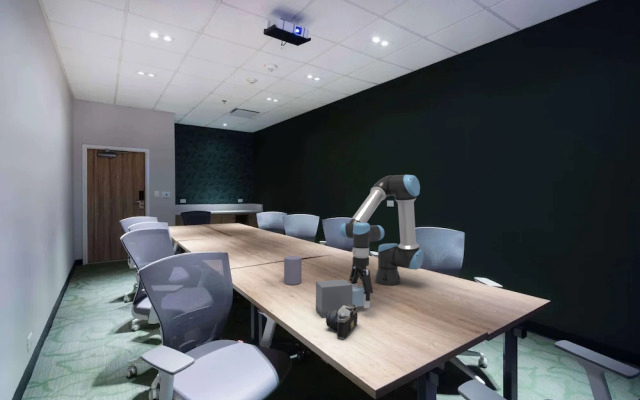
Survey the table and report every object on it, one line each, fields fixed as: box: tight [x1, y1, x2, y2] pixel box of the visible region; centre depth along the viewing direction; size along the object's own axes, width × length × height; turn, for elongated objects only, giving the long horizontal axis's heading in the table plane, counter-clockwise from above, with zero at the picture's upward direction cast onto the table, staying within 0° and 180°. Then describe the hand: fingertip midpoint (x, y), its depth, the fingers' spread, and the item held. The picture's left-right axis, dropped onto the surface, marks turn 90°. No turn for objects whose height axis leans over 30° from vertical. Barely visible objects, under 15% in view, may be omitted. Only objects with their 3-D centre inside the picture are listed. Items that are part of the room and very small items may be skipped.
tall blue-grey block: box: [352, 286, 365, 307], centre depth 138 cm, size 18×5×7 cm, turn 107°
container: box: [283, 255, 303, 286], centre depth 180 cm, size 10×10×15 cm
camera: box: [325, 304, 358, 340], centre depth 119 cm, size 16×10×10 cm, turn 155°
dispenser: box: [315, 279, 353, 319], centre depth 136 cm, size 14×9×13 cm, turn 107°
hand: (360, 302), depth 140 cm, fingers open, 13 cm apart
